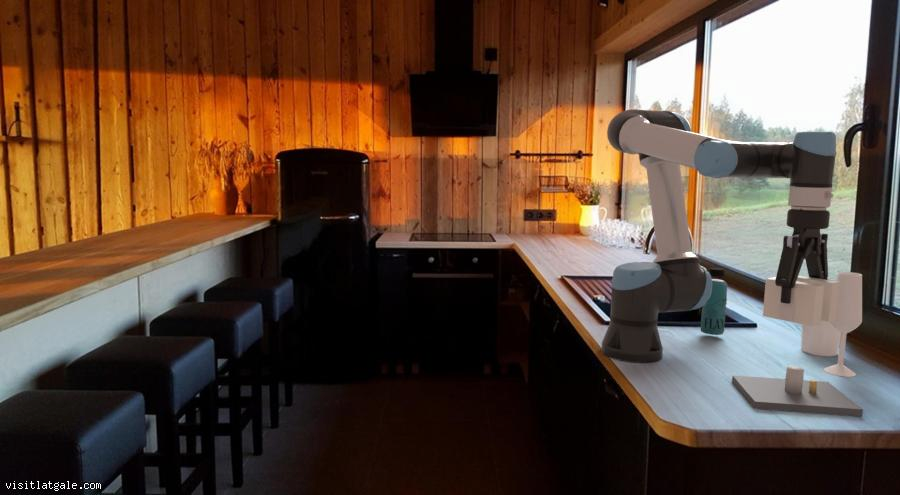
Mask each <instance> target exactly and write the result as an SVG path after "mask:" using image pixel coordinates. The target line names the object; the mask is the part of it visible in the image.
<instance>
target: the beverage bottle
mask: <svg viewBox="0 0 900 495" xmlns="http://www.w3.org/2000/svg"><path fill="white" fill-rule="evenodd" d="M708 272H709V273H710V275H711V277H718V278H719V277H720V278H723V277H725V269H724V268H721V267H710V268H709V271H708ZM718 278H712V292H711V295H710V298H709V299H708V300H707V302H706V304H705V305H703V306H702V307H701V308H702V309H701V318H700V332H701V333H703V334H706V335H713V336H720V335H723V334H724V332H725V325H726V310H727V309H726V308H727V304H728V303H727V302H728V298H727V297H728V284H727V282H726V281H725V280H723V279H718Z"/></svg>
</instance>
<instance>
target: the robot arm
mask: <svg viewBox="0 0 900 495" xmlns="http://www.w3.org/2000/svg"><path fill="white" fill-rule="evenodd" d="M609 121H610V122H609V124H608V126H607V131H606V134H607V141H608V142H609V145H610V146H611V147H612V148H613V149H614V150H616V151H618V152H620V153H623V154H624V153H625V154H628V155H638V158H639V164H640V166H642V167H644V168H645V169H646V175H647V177H646V178H647V183H648V191H649V193H648V194H649V198H650V199H649V200H650V207H651V214H652V215H651V216H652V223H653V229H654V230H653V232H654V238H655V246H656V247H655V248H656V254H657V255H656V257H655V258H654V260H653V261H633V262H627V263H622V264H619V265H617V266H616V267H615V268H614V270H613V272H612V279H611V284H610V285H611V298H610V316H609V317H610V318H609V319H610V320H609V323H608V324H609V325H608V327H607V329H606V332H605V334H604V336H603V339H602V341H601V350H600V351H601V353H602V354H603V355H605V356H606V357H608V358H610V359H611V358H612V359H615V360H618V361H623V362H630V363H651V362H657V361H660V360H662V358H663V355H664V354H663V353H664V352H663V351H664V348H663V345H662V341H661V336H660V333H659V329H658V317H659V313H672V312H689V311H692V310H698V309H701V308H703V305H705V304H706V302H707V300H708V299H709V298H710V295H711V292H712V279H713V277H712V276H711V275H710V273H709V271H708V269H707V268H706V267H704V266H702V265H701V264H700V258H699V256H698V255H696V254H695V253H694V252H693V251H692V245H691V237H690V230H689V222H688V214H687V209H686V201H685V194H684V186H683V177H682V172H681V166H684V167H688V168H691V169H694V170H697V171H698V174H700V176H703V177H709V178H713V179H714V178H715V179H721V178H746V179H747V178H748V179H750V178H751V179H752V178H753V179H754V178H755V179H789V189H788V191H789V192H788V203H787V205H788V206H789V207H790V208H789V209H788V210H787V213H786V214H787V215H786V226H787V227H790V228H792V229H793V230H792V233H791V235H784V236H783V239H782V240H783V241H782V242H783V243H782V244H783V245H782V249H781V250H782V251H781V254H780V259H779V264H778V267H777V272H776V275H775V277H776V280H775V283H776V286H781V295H780V307H779V318H783V319H788V320H794V313H795V301H796V290H797V288H794V286H795V283H796V280H797V277H798V276H800V275H799V274H800V272H801V270H802V266H803V263H804V261H805V264H806V269H807V275H808V277H811V278H818V279H825V280H829V268H828V267H829V264H828V263H829V262H828V239H829V238H828V237H829V234H828V233H824V232H823V233H821V230H824V229H825V230H826V229H828V228H829V226H830V217H831V212H830V210H827V209H828V208H830V207H831V202H832V198H833V197H834V196H835V195H834V193H833V178H834V171H835V170H834V169H835V164H836V156H837V135H836V134H835V133H834V132H832V131H830V130H829V131H828V130H826V131H825V130H809V131H808V130H806V131H803V130H802V131H798V132H796V133H794V136H793V140H792V141H791V142H761V141H760V142H759V141H758V142H757V141H756V142H755V141H734V140H727V139H722V138H718V137H713V136H708V135H703V134H700V133H696V132H692V128H691V125H690V123H689V120H688V119H687V118H686V117H685V116H684V115H682V114H681V113H680V112H679V113H678V112H674V111H670V110H650V109H649V110H648V109H627V110H626V109H625V110H623V111H621V112H619V113H617V114H615V115H614V116H613V117H612V119H611V120H609Z"/></svg>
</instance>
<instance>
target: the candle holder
mask: <svg viewBox="0 0 900 495" xmlns="http://www.w3.org/2000/svg"><path fill="white" fill-rule="evenodd" d="M840 336H841V332H840V331H838V330H837V329H836V328H835V327H834V326H833V325H832V323H831V322H826V321H821V324H819V325H816V326H809V325H804V324H801V336H800V337H801V340H800V349H801V351H802V352H803V353H806V354H809V355H813V356H817V357H828V358H829V357H830V358H831V357H836V356H837V354H838V353H839V346H840Z"/></svg>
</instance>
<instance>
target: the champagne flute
mask: <svg viewBox="0 0 900 495" xmlns="http://www.w3.org/2000/svg"><path fill="white" fill-rule="evenodd" d="M836 281H839V282H840V284H839V294H838V304H837V315H836V320H834V321H830V322H831V323H832V325H833V326H834V327H835V328H836V329H837V330H838V331H840V332H841V336H840V342H839V347H838V357H837V363H836V364H833V365H830V366H827V367H824V368H823V371H824V372H825V373H827V374H830V375H833V376H839V377H847V378H850V377H856V376H857V374H856V373H855V372H854V371H853V370H851V369H850V368H849V367H847V366H845V365H844V360H845V352H846V342H847V335H848V333H851V332H852V331H854V330H856V329H857V328H858V327H860V325H861V324H862V322H863V274H861V273H859V272H853V271H852V272H851V271H850V272H849V271H839V272H838V273H837V278H836Z"/></svg>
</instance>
